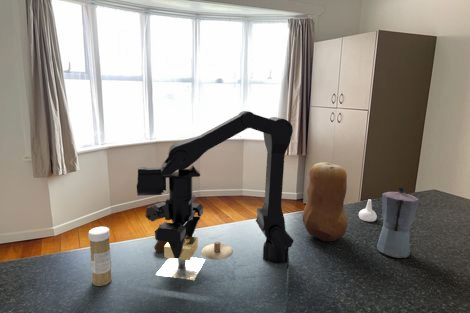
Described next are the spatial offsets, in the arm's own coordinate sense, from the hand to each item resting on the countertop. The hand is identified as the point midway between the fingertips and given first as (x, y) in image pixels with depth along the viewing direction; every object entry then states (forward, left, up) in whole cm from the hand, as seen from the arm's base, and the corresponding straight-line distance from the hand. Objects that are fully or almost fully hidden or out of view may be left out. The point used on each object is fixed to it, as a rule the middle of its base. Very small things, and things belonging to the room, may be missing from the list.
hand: (181, 251), depth 80 cm
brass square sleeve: (0, 0, 0) cm, 0 cm away
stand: (-7, -10, -5) cm, 13 cm away
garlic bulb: (-56, -49, -6) cm, 75 cm away
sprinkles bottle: (+17, +9, -6) cm, 20 cm away
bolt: (+11, -13, -6) cm, 18 cm away
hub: (0, 0, -5) cm, 5 cm away
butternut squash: (-38, -28, -6) cm, 47 cm away
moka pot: (-58, -23, -6) cm, 63 cm away
